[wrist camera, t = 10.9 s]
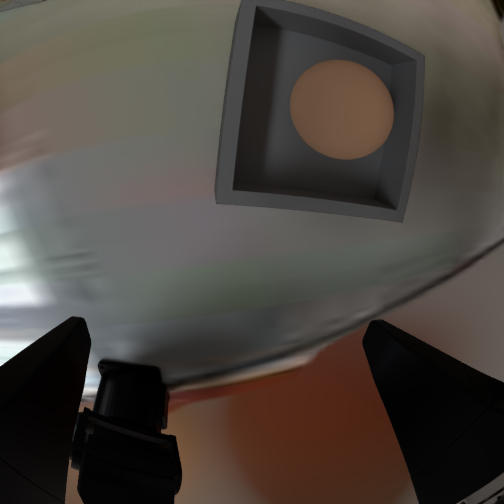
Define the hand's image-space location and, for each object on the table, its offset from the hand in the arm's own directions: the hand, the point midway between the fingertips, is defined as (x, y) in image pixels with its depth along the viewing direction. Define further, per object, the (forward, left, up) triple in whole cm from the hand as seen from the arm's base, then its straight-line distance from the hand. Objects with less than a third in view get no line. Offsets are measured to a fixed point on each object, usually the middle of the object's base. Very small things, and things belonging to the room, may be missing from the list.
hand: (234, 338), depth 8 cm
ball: (+6, +8, -8) cm, 13 cm away
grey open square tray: (+6, +8, -12) cm, 16 cm away
